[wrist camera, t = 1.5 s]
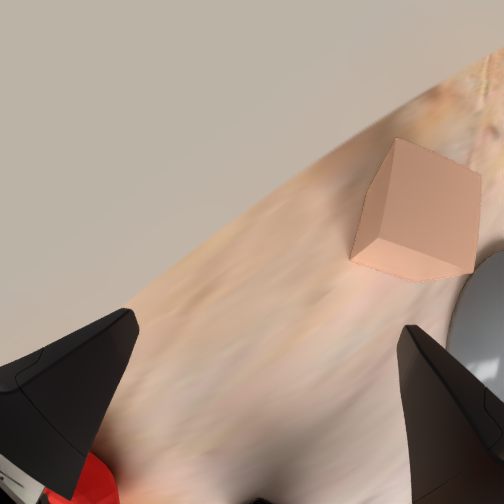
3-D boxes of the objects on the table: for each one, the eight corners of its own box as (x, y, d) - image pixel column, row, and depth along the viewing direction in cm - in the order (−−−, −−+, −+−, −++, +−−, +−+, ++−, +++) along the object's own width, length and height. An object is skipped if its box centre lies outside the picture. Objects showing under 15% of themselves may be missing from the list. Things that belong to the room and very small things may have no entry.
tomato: (75, 412, 24) (11, 435, 13) (152, 485, 21) (101, 534, 11) (54, 456, 23) (6, 478, 13) (115, 516, 21) (75, 550, 10)
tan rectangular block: (415, 282, 20) (473, 273, 12) (349, 260, 22) (378, 237, 13) (429, 214, 21) (481, 174, 12) (366, 191, 22) (396, 137, 13)
